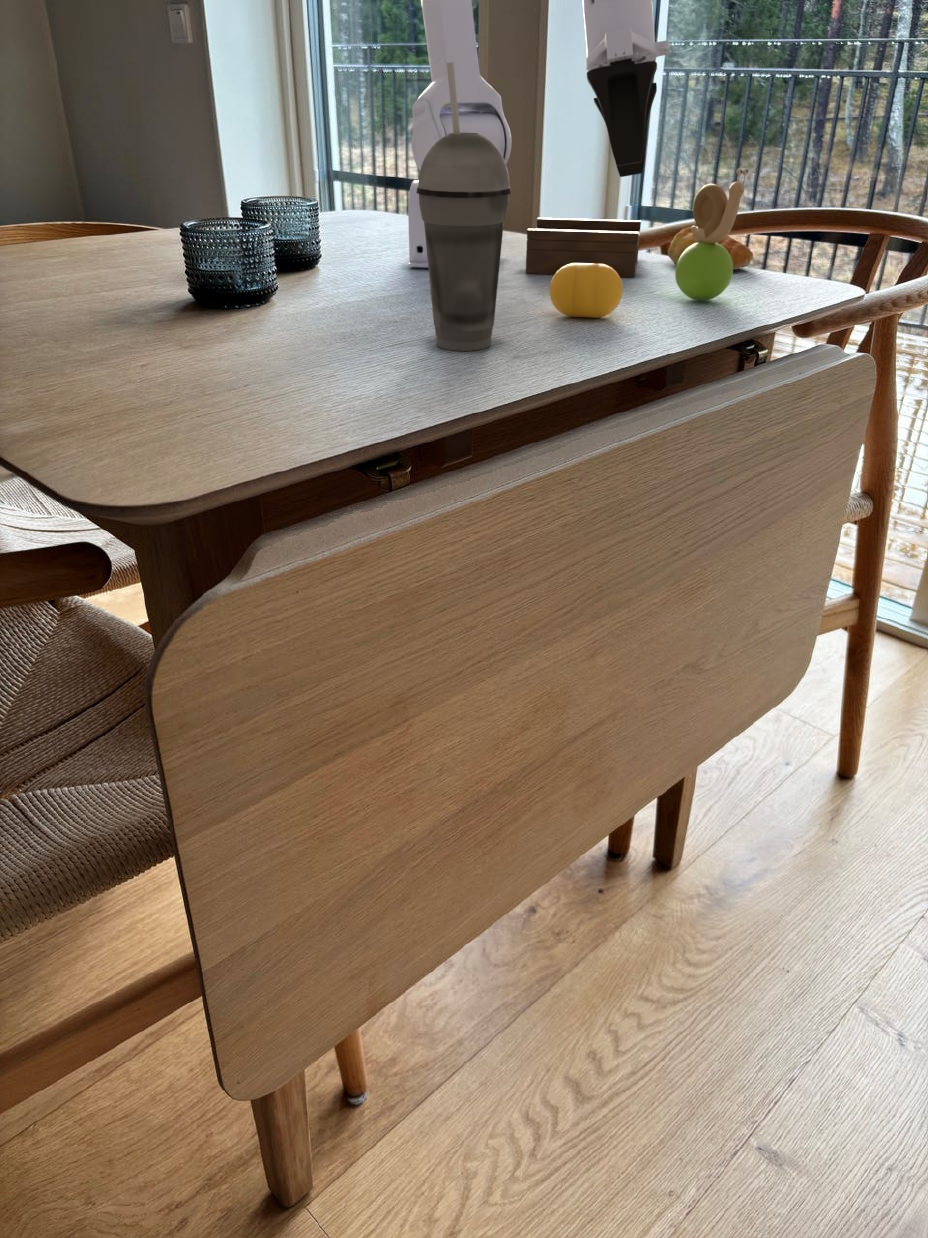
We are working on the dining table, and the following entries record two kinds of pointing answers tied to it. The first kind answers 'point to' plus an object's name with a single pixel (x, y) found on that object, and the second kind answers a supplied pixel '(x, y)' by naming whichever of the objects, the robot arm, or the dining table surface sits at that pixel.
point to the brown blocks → (583, 244)
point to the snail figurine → (710, 242)
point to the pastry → (736, 249)
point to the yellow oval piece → (586, 290)
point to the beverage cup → (463, 231)
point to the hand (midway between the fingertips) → (630, 169)
